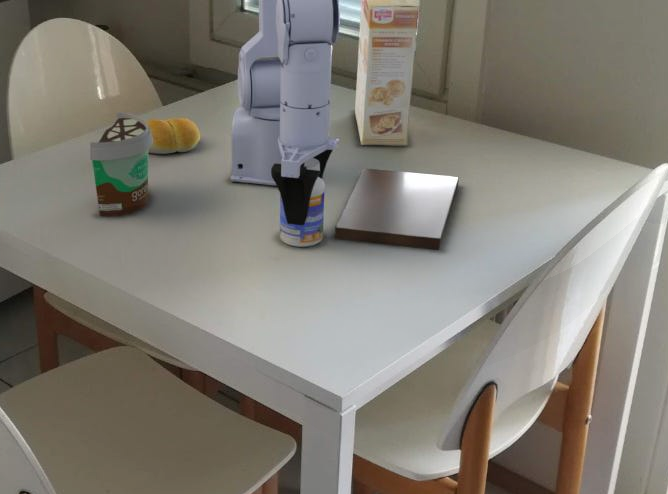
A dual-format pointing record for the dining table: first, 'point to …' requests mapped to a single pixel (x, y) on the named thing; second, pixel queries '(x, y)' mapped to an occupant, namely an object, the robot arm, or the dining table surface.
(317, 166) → the pill bottle
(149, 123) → the bread roll
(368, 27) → the coffeecake box
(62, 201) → the dining table surface
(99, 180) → the food container
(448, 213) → the walnut board
